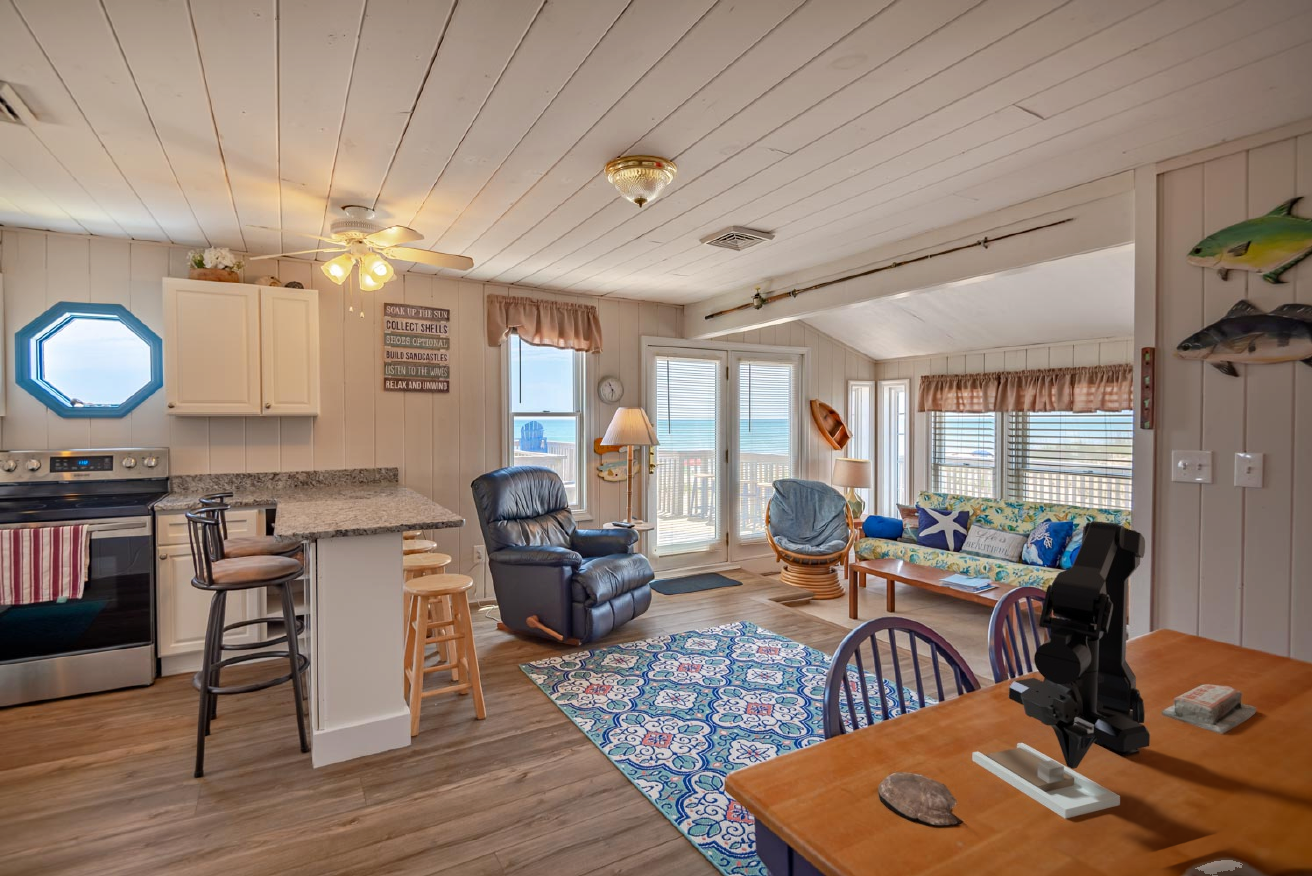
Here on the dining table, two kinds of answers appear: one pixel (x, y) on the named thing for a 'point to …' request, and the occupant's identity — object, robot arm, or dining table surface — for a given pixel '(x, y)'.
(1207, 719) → the packaged product
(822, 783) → the dining table surface
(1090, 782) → the open box
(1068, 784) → the cover plate
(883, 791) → the shell
